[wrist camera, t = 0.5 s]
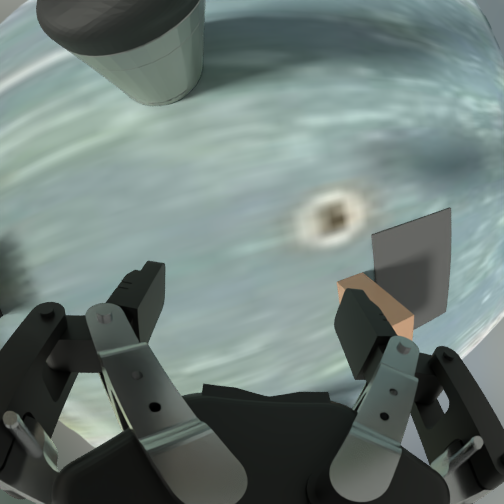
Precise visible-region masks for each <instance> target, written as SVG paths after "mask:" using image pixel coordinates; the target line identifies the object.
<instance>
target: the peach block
mask: <svg viewBox="0 0 504 504" xmlns="http://www.w3.org/2000/svg"><path fill="white" fill-rule="evenodd" d="M337 286H338V294H339V302H341V300H342V297H343V294H344V291H345V290H346V289H347V288H353V289H362V290H364V292H365V293H366V295H367V296H368V298H369V299H370V301H372V302H373V303H375V304H376V305H377V306H378V307H379V308H380V309H381V311H382V312H383V314H384V315H385V317H386V318H387V321H389V323H390V324H391V326H392V327H393V329H394V330H395V332H396V334H397V335H398V336H403V337H406V338H408V339H410V340H412V337H413V325H414V314H412V313H411V312H410V311H409V310H408V309H407V308H405V307H404V306H403V305H402V304H401V303H399V302H398V301H397V300H396V299H395V298H393V297H392V296H391V295H390V294H389V293H387V292H386V291H385V290H384V289H382V288H381V287H380V286H379V285H377V284H376V283H375V282H374V281H373V280H371V279H370V278H369V277H368V276H366V275H365V274H364V273H363V272H362V273H359V274H357V275H354V276H351V277H349V278H346V279H343V280H341V281H338V282H337Z"/></svg>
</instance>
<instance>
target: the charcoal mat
mask: <svg viewBox="0 0 504 504" xmlns="http://www.w3.org/2000/svg"><path fill="white" fill-rule="evenodd" d="M372 244H373V255H374V268H375V283H376V284H377V285H379V286H380V287H381V288H382V289H384V290H385V291H386V292H387V293H389V294H390V295H391V296H392V297H393V298H395V299H396V300H397V301H398V302H399V303H401V304H402V305H403V306H404V307H405V308H407V309H408V310H409V311H410V312H411V313H412V314H414V325H413V330H414V329H416V328H418V327H420V326H422V325H424V324H425V323H427V322H429V321H431V320H433V319H434V318H436V317H438V316H440V315H441V314H443V313H445V312H446V307H447V298H448V288H449V276H450V260H451V208H447V209H444V210H441V211H439V212H436V213H433V214H430V215H427V216H424V217H422V218H419V219H416V220H413V221H410V222H407V223H404V224H401V225H398V226H396V227H393V228H390V229H387V230H384V231H381V232H378V233H375V234H372Z"/></svg>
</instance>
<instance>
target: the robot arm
mask: <svg viewBox="0 0 504 504" xmlns="http://www.w3.org/2000/svg"><path fill="white" fill-rule="evenodd" d="M36 12H37V18H38V21H39V24H40V26H41V28H42V29H43V31H44V32H45V33H46V34H47V35H48V36H49V37H50V38H51V39H52V40H54V41H55V42H56V43H58V44H59V45H61V46H62V47H64V48H65V49H67V50H68V51H69V52H71V53H72V54H73V55H75V56H76V57H77V58H79V59H80V60H82V61H83V62H84V63H86V64H87V65H89V66H90V67H91V68H93V69H94V70H95V71H97V72H98V73H99V74H101V75H102V76H103V77H105V78H106V79H107V80H109V81H110V82H111V83H112V84H114V85H115V86H116V87H118V88H119V89H120V90H121V91H123V92H124V93H125V94H126V95H128V96H129V97H130V98H132V99H133V100H135V101H136V102H138V103H141V104H143V105H148V106H163V105H167V104H171V103H173V102H176V101H178V100H180V99H181V98H183V97H184V96H186V95H187V94H188V93H189V92H190V91H191V90H192V89H193V88H194V87H195V85H196V84H197V82H198V80H199V78H200V76H201V73H202V68H203V45H204V20H205V0H37V6H36ZM164 299H165V263H160V262H153V261H147V262H146V264H145V265H144V267H143V268H142V270H141V271H139V270H134V271H132V272H130V273H128V274H127V275H126V276H125V277H124V278H123V280H122V282H120V284H119V285H118V288H116V289H115V291H114V292H113V293H112V295H111V296H110V297H109V299H108V300H107V302H106V303H100V304H96V305H94V306H92V307H90V308H89V309H88V310H87V312H86V315H83V316H73V315H66V314H65V309H64V307H63V306H62V305H61V304H59V303H55V302H46V303H42V304H39V305H38V306H36V307H35V308H34V309H33V310H32V311H31V312H30V313H29V314H28V316H27V317H26V318H25V319H24V321H23V322H22V323H21V324H20V326H19V327H18V328H17V329H16V331H15V332H14V333H13V335H12V336H11V337H10V338H9V340H8V341H7V342H6V344H5V345H4V346H3V348H2V349H1V351H0V489H2V490H3V491H5V492H6V493H7V494H9V495H10V496H12V497H14V498H17V499H26V498H27V499H29V500H31V501H33V502H35V503H37V504H473V503H475V502H476V501H478V500H479V499H481V498H482V497H484V496H485V495H487V494H488V493H489V492H491V491H492V490H494V489H495V488H496V487H498V486H499V485H500V484H502V483H503V482H504V429H503V427H502V425H501V423H500V421H499V420H498V418H497V416H496V414H495V413H494V411H493V409H492V407H491V406H490V404H489V402H488V401H487V399H486V397H485V395H484V394H483V392H482V391H481V389H480V387H479V386H478V384H477V383H476V381H475V379H474V378H473V376H472V375H471V373H470V372H469V370H468V369H467V367H466V366H465V364H464V363H463V361H462V360H461V358H460V357H459V355H458V354H457V353H456V352H455V351H453V350H452V349H450V348H448V347H444V346H439V347H437V348H436V349H435V351H434V353H433V354H432V355H428V354H424V353H419V348H418V346H417V345H416V344H415V343H414V342H413V341H412V340H410V339H408V338H406V337H403V336H398V335H397V334H396V332H395V330H394V329H393V327H392V326H391V324H390V323H389V321H387V318H386V317H385V315H384V314H383V312H382V311H381V309H380V308H379V307H378V306H377V305H376V304H375V303H373V302H372V301H370V299H369V298H368V296H367V295H366V293H365V292H364V290H362V289H353V288H347V289H346V290H345V291H344V294H343V297H342V300H341V302H340V305H339V308H338V311H337V314H336V317H335V322H334V327H335V331H336V333H337V336H338V338H339V341H340V343H341V345H342V348H343V350H344V353H345V356H346V358H347V361H348V363H349V366H350V368H351V371H352V373H353V376H354V379H355V380H366V381H367V382H366V384H365V385H364V387H363V389H362V391H361V393H360V395H359V397H358V399H357V400H356V402H355V404H354V406H353V408H352V409H351V408H349V407H347V406H345V405H342V404H340V403H337V402H333V401H330V397H329V393H328V392H296V393H290V394H284V395H278V396H271V397H269V396H263V395H260V394H256V393H252V392H249V391H245V390H242V389H238V388H234V387H225V386H217V385H209V384H203V390H202V393H194V394H188V395H184V396H181V395H180V393H179V392H178V390H177V389H176V387H175V386H174V385H173V383H172V382H171V380H170V379H169V377H168V375H167V374H166V372H165V371H164V369H163V368H162V366H161V365H160V363H159V361H158V360H157V358H156V357H155V355H154V353H153V352H152V350H151V348H150V347H149V345H148V342H149V340H150V337H151V335H152V332H153V330H154V328H155V325H156V323H157V320H158V318H159V316H160V313H161V311H162V308H163V305H164ZM79 372H80V373H99V376H100V379H101V381H102V384H103V387H104V389H105V392H106V394H107V396H108V399H109V401H110V403H111V406H112V408H113V410H114V413H115V415H116V418H117V420H118V423H119V425H120V427H121V430H122V432H121V433H120V434H118V435H117V436H115V437H113V438H112V439H110V440H108V441H107V442H105V443H103V444H102V445H100V446H98V447H97V448H95V449H93V450H92V451H90V452H88V453H87V454H85V455H83V456H81V457H80V458H78V459H76V460H75V461H72V462H71V463H69V464H68V465H66V466H65V467H64V468H63V469H62V470H61V471H60V472H58V469H57V459H58V452H57V449H56V447H55V445H54V443H53V442H52V441H51V437H52V434H53V432H54V429H55V426H56V424H57V421H58V419H59V416H60V414H61V411H62V409H63V407H64V404H65V402H66V400H67V397H68V395H69V393H70V390H71V388H72V386H73V384H74V382H75V379H76V377H77V375H78V373H79ZM443 389H444V391H445V393H446V395H447V397H448V399H449V408H448V410H447V412H446V413H445V414H444V412H443V410H442V408H441V406H440V404H439V402H438V400H437V397H438V396H439V395H440V393H441V392H442V391H443ZM410 413H411V416H412V418H413V421H414V424H415V426H416V429H417V431H418V434H419V437H420V439H421V442H422V445H423V447H424V450H425V453H426V456H427V459H428V461H429V465H430V466H429V465H427V464H426V463H424V462H423V461H422V460H420V459H419V458H417V457H416V456H414V455H413V454H412V453H410V452H409V451H408V450H406V449H405V448H403V447H402V446H401V441H402V438H403V435H404V432H405V429H406V426H407V423H408V419H409V416H410Z"/></svg>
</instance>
